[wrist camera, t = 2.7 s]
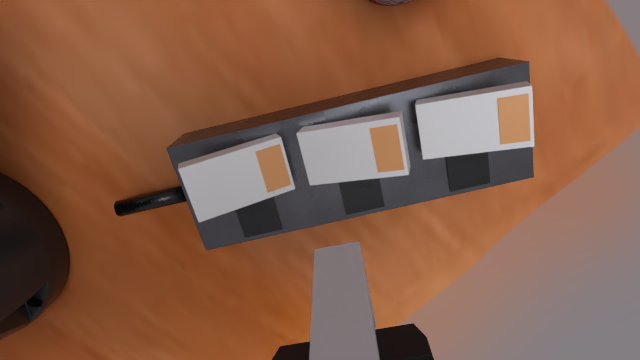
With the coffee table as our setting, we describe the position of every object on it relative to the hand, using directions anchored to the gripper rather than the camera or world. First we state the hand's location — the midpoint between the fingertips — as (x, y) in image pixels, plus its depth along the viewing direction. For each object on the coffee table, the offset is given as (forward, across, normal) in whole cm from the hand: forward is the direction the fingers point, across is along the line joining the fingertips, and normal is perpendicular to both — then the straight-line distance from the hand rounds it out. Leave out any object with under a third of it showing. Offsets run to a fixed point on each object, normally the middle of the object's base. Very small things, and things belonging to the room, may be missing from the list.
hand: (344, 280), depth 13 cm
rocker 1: (+12, -6, +1) cm, 14 cm away
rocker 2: (+12, +1, +1) cm, 12 cm away
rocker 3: (+13, +9, +1) cm, 15 cm away
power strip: (+18, -2, -1) cm, 18 cm away
